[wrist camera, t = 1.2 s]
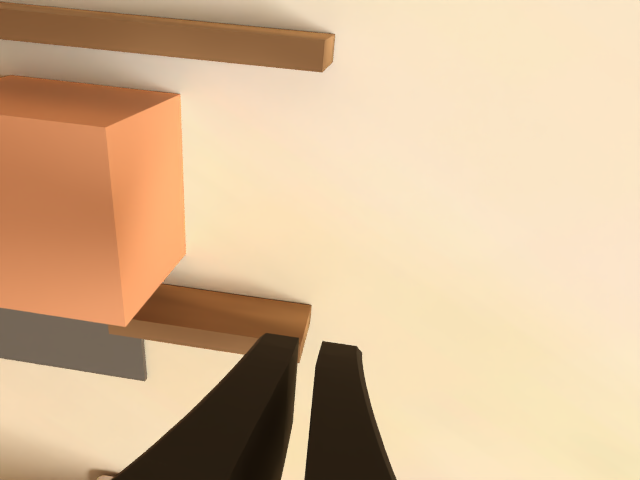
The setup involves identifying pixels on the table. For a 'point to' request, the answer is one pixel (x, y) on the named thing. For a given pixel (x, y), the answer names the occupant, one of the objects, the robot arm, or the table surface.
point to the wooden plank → (203, 44)
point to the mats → (70, 344)
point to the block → (88, 197)
